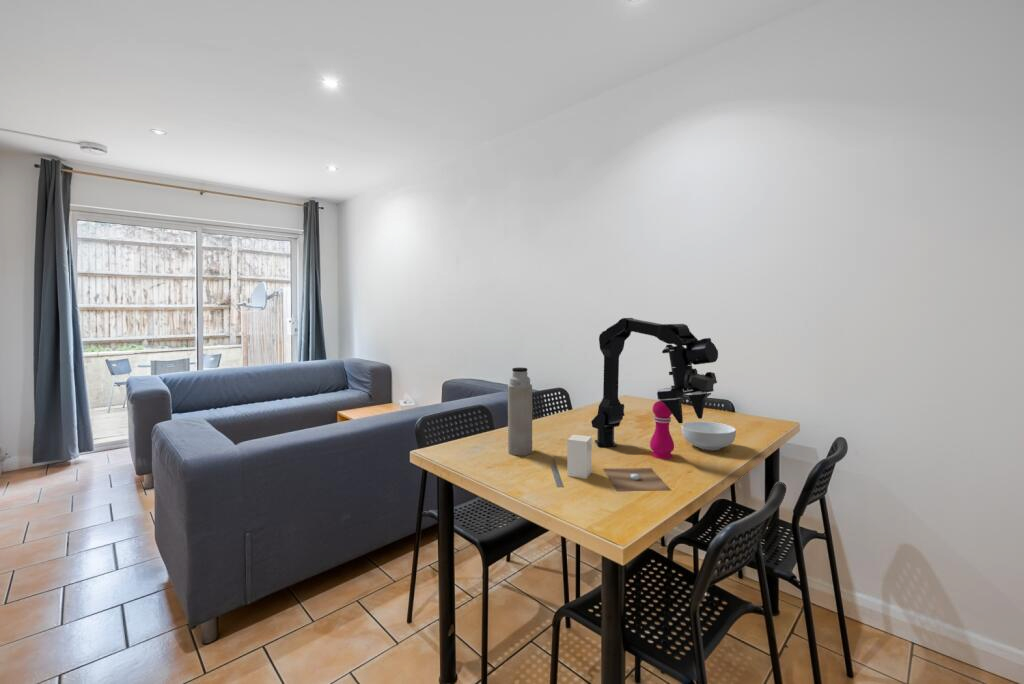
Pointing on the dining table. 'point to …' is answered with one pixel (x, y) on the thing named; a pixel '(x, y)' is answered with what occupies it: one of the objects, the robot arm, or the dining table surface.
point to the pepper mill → (661, 432)
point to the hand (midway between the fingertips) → (690, 420)
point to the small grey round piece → (635, 476)
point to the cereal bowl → (708, 434)
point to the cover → (579, 456)
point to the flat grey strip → (557, 476)
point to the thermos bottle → (520, 413)
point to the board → (625, 483)
